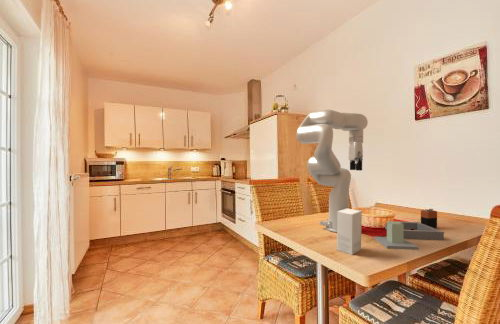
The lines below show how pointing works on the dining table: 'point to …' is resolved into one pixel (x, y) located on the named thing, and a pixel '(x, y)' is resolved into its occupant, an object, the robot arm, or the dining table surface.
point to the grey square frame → (420, 231)
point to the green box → (395, 231)
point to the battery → (429, 218)
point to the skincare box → (349, 230)
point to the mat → (396, 244)
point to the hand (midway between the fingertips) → (355, 170)
